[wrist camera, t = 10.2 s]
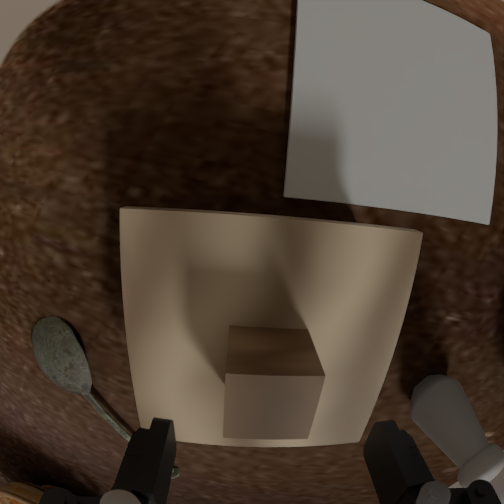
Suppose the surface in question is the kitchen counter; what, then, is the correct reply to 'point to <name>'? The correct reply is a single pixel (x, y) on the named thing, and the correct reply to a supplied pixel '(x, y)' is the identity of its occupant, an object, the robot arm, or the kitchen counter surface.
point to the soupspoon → (68, 365)
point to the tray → (392, 108)
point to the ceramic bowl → (22, 493)
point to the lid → (261, 322)
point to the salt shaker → (455, 428)
